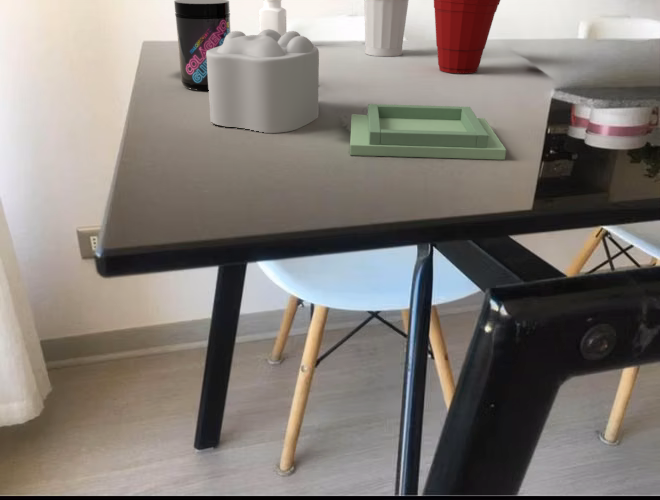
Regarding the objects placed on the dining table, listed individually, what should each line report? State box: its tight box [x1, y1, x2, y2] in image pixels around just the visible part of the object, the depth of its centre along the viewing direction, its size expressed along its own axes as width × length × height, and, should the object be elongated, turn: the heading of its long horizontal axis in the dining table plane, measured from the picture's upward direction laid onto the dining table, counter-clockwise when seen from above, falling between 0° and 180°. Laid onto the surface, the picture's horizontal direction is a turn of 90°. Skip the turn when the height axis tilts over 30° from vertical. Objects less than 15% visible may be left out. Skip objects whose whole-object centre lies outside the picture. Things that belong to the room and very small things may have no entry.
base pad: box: [349, 103, 507, 161], centre depth 61 cm, size 14×11×2 cm
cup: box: [363, 0, 409, 57], centre depth 106 cm, size 8×8×12 cm
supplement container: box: [173, 0, 232, 90], centre depth 80 cm, size 7×7×10 cm
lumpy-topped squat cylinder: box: [206, 29, 320, 134], centre depth 68 cm, size 10×13×9 cm
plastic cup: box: [433, 0, 501, 75], centre depth 93 cm, size 11×11×12 cm
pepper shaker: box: [258, 0, 288, 36], centre depth 112 cm, size 4×4×10 cm
